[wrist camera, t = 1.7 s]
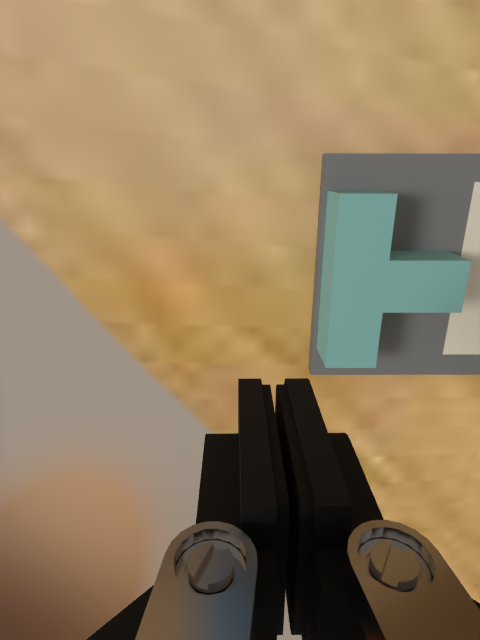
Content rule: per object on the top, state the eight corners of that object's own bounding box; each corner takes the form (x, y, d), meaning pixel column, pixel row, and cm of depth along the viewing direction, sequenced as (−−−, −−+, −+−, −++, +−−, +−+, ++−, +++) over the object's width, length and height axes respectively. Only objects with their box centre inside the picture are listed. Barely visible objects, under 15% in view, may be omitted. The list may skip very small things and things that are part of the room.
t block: (428, 347, 28) (450, 367, 25) (316, 347, 28) (325, 367, 25) (456, 190, 24) (484, 193, 21) (327, 190, 24) (339, 193, 21)
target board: (562, 367, 29) (573, 374, 28) (308, 367, 29) (311, 374, 28) (626, 155, 25) (641, 154, 24) (322, 154, 24) (326, 153, 24)
